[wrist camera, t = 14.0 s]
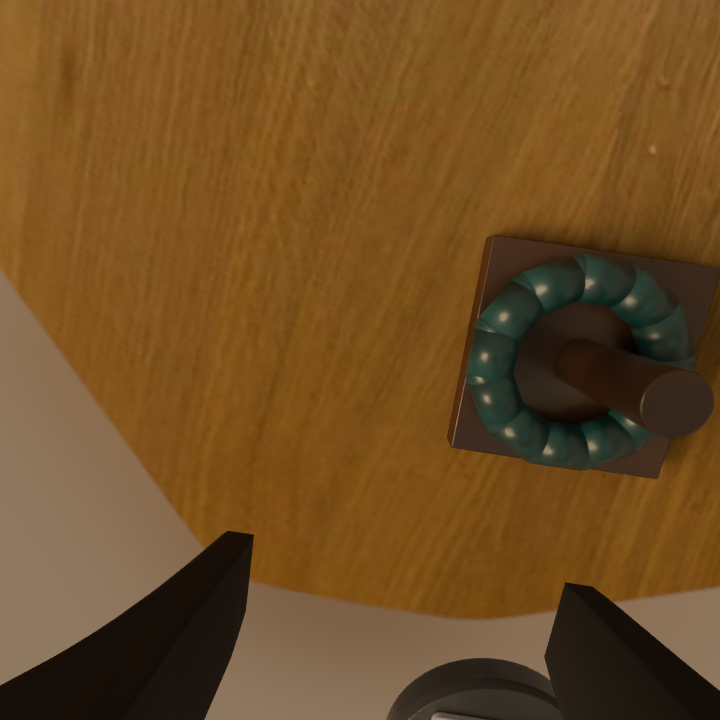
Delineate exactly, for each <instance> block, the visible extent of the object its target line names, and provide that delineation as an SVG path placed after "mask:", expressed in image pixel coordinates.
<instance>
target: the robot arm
mask: <svg viewBox="0 0 720 720" xmlns="http://www.w3.org/2000/svg"><path fill="white" fill-rule="evenodd" d="M253 539H254V535H252V534H246V533H239V532H233V531H227V532H225V533H224V534H222V535H221V536H220V537H219V538H218V539H217V540H215V541H214V542H213V543H212V544H211V545H210V546H208V547H207V548H206V549H205V550H204V551H203V552H201V553H200V554H199V555H198V556H197V557H195V558H194V559H193V560H192V561H191V562H190V563H188V564H187V565H186V566H185V567H184V568H182V569H181V570H180V571H178V572H177V573H176V574H174V576H172V577H171V578H169V579H168V580H167V581H166V582H164V583H163V584H162V585H161V586H160V587H158V588H157V589H155V590H154V591H153V592H151V593H150V594H149V595H147V596H146V597H144V598H143V599H142V600H140V601H139V602H138V603H136V604H135V605H133V606H132V607H131V608H129V609H128V610H126V611H125V612H124V613H122V614H121V615H119V616H118V617H117V618H115V619H114V620H112V621H111V622H109V623H108V624H106V625H105V626H103V627H102V628H100V629H99V630H97V631H96V632H94V633H92V634H91V635H90V636H88V637H86V638H84V639H83V640H81V641H80V642H78V643H76V644H75V645H73V646H71V647H70V648H68V649H66V650H65V651H63V652H61V653H60V654H58V655H56V656H54V657H53V658H51V659H49V660H47V661H45V662H43V663H41V664H40V665H38V666H36V667H34V668H32V669H30V670H28V671H27V672H25V673H23V674H21V675H19V676H17V677H15V678H13V679H12V680H10V681H8V682H6V683H4V684H2V685H0V720H204V719H205V717H206V714H207V712H208V710H209V708H210V705H211V703H212V701H213V698H214V696H215V694H216V691H217V689H218V687H219V684H220V682H221V680H222V677H223V675H224V673H225V670H226V668H227V666H228V663H229V661H230V659H231V656H232V653H233V650H234V647H235V643H236V640H237V637H238V634H239V631H240V628H241V625H242V621H243V618H244V615H245V612H246V604H247V595H248V585H249V576H250V567H251V557H252V548H253ZM544 658H545V661H546V665H547V668H548V672H549V675H550V680H551V683H552V687H553V690H554V693H555V697H556V700H557V703H558V706H559V710H560V712H561V715H562V717H563V720H720V691H719V690H718V689H717V688H716V687H714V686H713V685H712V684H711V683H709V682H708V681H707V680H706V679H704V678H703V677H702V676H701V675H699V674H698V673H697V672H696V671H694V670H693V669H692V668H691V667H689V666H688V665H687V664H686V663H685V662H683V661H682V660H681V659H680V658H679V657H677V656H676V655H675V654H674V653H673V652H671V651H670V650H669V649H668V648H666V647H665V646H664V645H663V644H662V643H661V642H659V641H658V640H657V639H656V638H655V637H654V636H652V635H651V634H650V633H649V632H648V631H646V630H645V629H644V628H643V627H641V626H640V625H639V624H638V623H637V622H636V621H634V620H633V619H632V618H631V617H630V616H628V615H627V614H626V613H625V612H624V611H623V610H621V609H620V608H619V607H618V606H616V605H615V604H614V603H613V602H612V601H610V600H609V599H608V598H606V597H605V596H604V595H603V594H601V593H600V592H599V591H597V590H596V589H595V588H593V587H591V586H585V585H578V584H572V583H565V585H564V589H563V592H562V596H561V600H560V603H559V607H558V610H557V614H556V617H555V621H554V625H553V628H552V632H551V635H550V639H549V642H548V646H547V650H546V653H545V657H544ZM431 720H488V719H482V718H476V717H470V716H463V715H457V714H451V713H445V712H437V713H435V714H434V715H433V716H432V718H431Z"/></svg>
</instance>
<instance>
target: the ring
mask: <svg viewBox="0 0 720 720" xmlns="http://www.w3.org/2000/svg"><path fill="white" fill-rule="evenodd" d="M574 303H583V304H590V305H596V306H603V307H608V308H609V309H610V310H611V311H612V312H613V313H615V314H616V315H617V316H618V317H619V318H621V319H622V320H623V321H624V322H625V323H626V324H628V325H629V326H630V328H631V332H632V335H633V339H634V342H635V345H636V349H637V352H638V355H640V356H643V357H647V358H650V359H653V360H657V361H660V362H663V363H666V364H670V365H673V366H676V367H679V368H683V369H686V370H689V371H692V372H693V369H694V366H695V362H696V350H695V346H694V343H693V339H692V335H691V331H690V328H689V324H688V320H687V316H686V313H685V309H684V306H683V304H682V302H681V300H680V299H679V298H678V297H677V296H676V295H675V294H674V293H673V292H671V291H670V290H669V289H668V288H667V287H666V286H664V285H663V284H662V283H661V282H660V281H659V280H658V279H656V278H655V277H654V276H653V275H652V274H651V273H650V272H648V271H647V270H646V269H645V268H644V267H643V266H641V265H640V264H638V263H636V262H634V261H630V260H623V259H616V258H610V257H603V256H596V255H589V254H582V253H572V254H569V255H565V256H563V257H560V258H558V259H555V260H553V261H550V262H547V263H545V264H542V265H540V266H537V267H535V268H532V269H530V270H527V271H524V272H522V273H520V274H518V275H516V276H515V277H513V278H512V279H511V280H510V281H509V282H508V284H507V285H506V286H505V287H504V288H503V289H502V291H501V292H500V293H499V294H498V295H497V296H496V298H495V299H494V300H493V301H492V302H491V304H490V305H489V306H488V307H487V308H486V309H485V311H484V312H483V313H482V314H481V315H480V316H479V318H478V319H477V321H476V323H475V326H474V331H473V336H472V341H471V346H470V351H469V356H468V361H467V366H466V372H465V378H466V382H467V385H468V388H469V391H470V393H471V396H472V399H473V401H474V404H475V407H476V410H477V412H478V415H479V418H480V421H481V423H482V425H483V427H484V428H485V429H486V430H487V431H488V432H489V433H490V434H491V435H493V436H494V437H495V438H496V439H498V440H499V441H500V442H501V443H503V444H504V445H505V446H507V447H508V448H509V449H510V450H512V451H513V452H514V453H515V454H517V455H518V456H519V457H520V458H522V459H523V460H525V461H527V462H529V463H533V464H539V465H546V466H552V467H559V468H566V469H572V470H579V471H583V470H589V469H592V468H595V467H598V466H601V465H604V464H607V463H610V462H613V461H616V460H619V459H622V458H625V457H628V456H631V455H634V454H636V453H638V452H640V451H641V450H642V449H644V448H645V447H646V446H647V445H648V444H649V443H650V442H651V441H652V440H653V439H654V438H655V437H656V436H657V435H655V434H653V433H651V432H649V431H648V430H646V429H644V428H642V427H641V426H639V425H637V424H635V423H634V422H632V421H630V420H629V419H627V418H625V417H623V416H622V415H620V414H618V413H616V412H615V411H613V410H611V409H610V410H609V411H608V412H607V413H606V414H604V415H601V416H598V417H596V418H593V419H590V420H587V421H584V422H581V423H578V424H575V425H574V424H567V423H560V422H554V421H547V420H544V419H543V418H542V417H541V416H539V415H538V414H537V413H536V412H534V411H533V410H532V409H531V408H529V407H528V406H527V405H526V404H525V403H523V400H522V398H521V395H520V392H519V389H518V386H517V383H516V380H515V377H514V369H515V364H516V360H517V355H518V351H519V346H520V342H521V340H522V339H523V338H524V337H525V336H526V335H527V333H528V332H529V331H530V330H531V329H532V328H533V327H534V326H535V324H536V323H537V322H538V321H539V320H540V319H541V318H542V316H543V315H544V314H547V313H550V312H552V311H555V310H558V309H560V308H563V307H566V306H568V305H571V304H574Z"/></svg>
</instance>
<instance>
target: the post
mask: <svg viewBox="0 0 720 720" xmlns="http://www.w3.org/2000/svg"><path fill="white" fill-rule="evenodd" d="M572 253H582V254H589V255H596V256H603V257H610V258H616V259H623V260H630V261H634V262H636V263H638V264H640V265H641V266H643V267H644V268H645V269H646V270H647V271H648V272H650V273H651V274H652V275H653V276H654V277H655V278H656V279H658V280H659V281H660V282H661V283H662V284H663V285H664V286H666V287H667V288H668V289H669V290H670V291H671V292H673V293H674V294H675V295H676V296H677V297H678V298H679V299H680V300H681V302H682V304H683V306H684V309H685V313H686V316H687V320H688V324H689V328H690V331H691V335H692V339H693V343H694V346H695V350H696V351H697V348H698V345H699V341H700V338H701V335H702V331H703V328H704V325H705V321H706V318H707V315H708V312H709V308H710V305H711V302H712V298H713V295H714V292H715V288H716V285H717V282H718V279H719V275H720V268H714V267H707V266H701V265H694V264H687V263H680V262H674V261H667V260H660V259H653V258H647V257H640V256H633V255H627V254H620V253H613V252H606V251H600V250H593V249H586V248H579V247H573V246H566V245H559V244H552V243H546V242H539V241H532V240H526V239H519V238H512V237H505V236H499V235H493V236H490V237H487V238H486V243H485V248H484V253H483V258H482V263H481V268H480V273H479V278H478V283H477V288H476V293H475V298H474V304H473V309H472V314H471V319H470V324H469V329H468V334H467V339H466V344H465V349H464V354H463V359H462V364H461V370H460V375H459V380H458V385H457V390H456V395H455V400H454V405H453V410H452V415H451V420H450V425H449V430H448V436H447V438H448V441H449V443H450V445H451V447H452V448H458V449H464V450H471V451H477V452H484V453H490V454H497V455H503V456H510V457H516V458H520V457H519V456H518V455H517V454H515V453H514V452H513V451H512V450H510V449H509V448H508V447H507V446H505V445H504V444H503V443H501V442H500V441H499V440H498V439H496V438H495V437H494V436H493V435H491V434H490V433H489V432H488V431H487V430H486V429H485V428H484V427H483V425H482V423H481V421H480V418H479V415H478V412H477V410H476V407H475V404H474V401H473V399H472V396H471V393H470V391H469V388H468V385H467V382H466V378H465V372H466V366H467V361H468V356H469V351H470V346H471V341H472V336H473V331H474V326H475V323H476V321H477V319H478V318H479V316H480V315H481V314H482V313H483V312H484V311H485V309H486V308H487V307H488V306H489V305H490V304H491V302H492V301H493V300H494V299H495V298H496V296H497V295H498V294H499V293H500V292H501V291H502V289H503V288H504V287H505V286H506V285H507V284H508V282H509V281H510V280H511V279H512V278H513V277H515V276H516V275H518V274H520V273H522V272H524V271H527V270H530V269H532V268H535V267H537V266H540V265H542V264H545V263H547V262H550V261H553V260H555V259H558V258H560V257H563V256H565V255H569V254H572ZM514 377H515V380H516V383H517V386H518V389H519V392H520V395H521V398H522V400H523V403H525V404H526V405H527V406H528V407H529V408H531V409H532V410H533V411H534V412H536V413H537V414H538V415H539V416H541V417H542V418H543V419H544V420H547V421H554V422H560V423H567V424H574V425H575V424H578V423H581V422H584V421H587V420H590V419H593V418H596V417H598V416H601V415H604V414H606V413H607V412H608V411H609V410H610V409H611V410H613V411H615V412H616V413H618V414H620V415H622V416H623V417H625V418H627V419H629V420H630V421H632V422H634V423H635V424H637V425H639V426H641V427H642V428H644V429H646V430H648V431H649V432H651V433H653V434H655V435H657V436H656V437H655V438H654V439H653V440H652V441H651V442H650V443H649V444H648V445H647V446H646V447H645V448H644V449H642V450H641V451H640V452H638V453H636V454H634V455H631V456H628V457H625V458H622V459H619V460H616V461H613V462H610V463H607V464H604V465H601V466H598V467H595V468H592V469H594V470H601V471H607V472H614V473H620V474H627V475H633V476H639V477H646V478H652V479H658V477H659V473H660V470H661V467H662V463H663V460H664V457H665V453H666V450H667V447H668V444H669V440H670V439H671V438H682V437H686V436H688V435H691V434H693V433H694V432H696V431H697V430H699V429H700V428H701V427H702V426H703V425H704V424H705V423H706V422H707V420H708V419H709V417H710V415H711V413H712V410H713V405H714V396H713V392H712V389H711V387H710V385H709V384H708V383H707V381H706V380H705V379H704V378H703V377H702V376H700V375H699V374H697V373H695V372H692V371H689V370H686V369H683V368H679V367H676V366H673V365H670V364H666V363H663V362H660V361H657V360H653V359H650V358H647V357H643V356H640V355H638V352H637V349H636V345H635V342H634V339H633V335H632V332H631V328H630V326H629V325H628V324H626V323H625V322H624V321H623V320H622V319H621V318H619V317H618V316H617V315H616V314H615V313H613V312H612V311H611V310H610V309H609V308H608V307H603V306H596V305H590V304H583V303H574V304H571V305H568V306H566V307H563V308H560V309H558V310H555V311H552V312H550V313H547V314H544V315H543V316H542V318H541V319H540V320H539V321H538V322H537V323H536V324H535V326H534V327H533V328H532V329H531V330H530V331H529V332H528V333H527V335H526V336H525V337H524V338H523V339H522V340H521V342H520V346H519V351H518V355H517V360H516V364H515V369H514Z"/></svg>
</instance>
